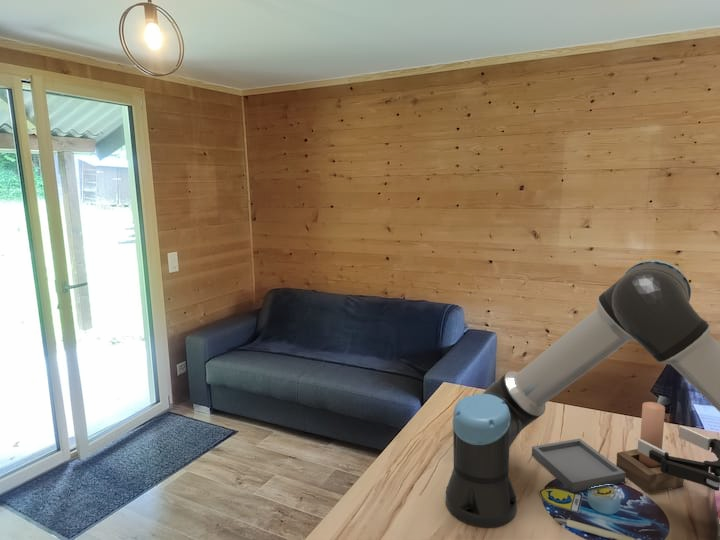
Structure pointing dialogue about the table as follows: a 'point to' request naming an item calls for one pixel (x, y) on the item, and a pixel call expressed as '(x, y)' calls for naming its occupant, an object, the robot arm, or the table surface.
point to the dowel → (652, 430)
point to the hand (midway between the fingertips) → (659, 437)
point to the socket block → (645, 473)
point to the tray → (577, 465)
